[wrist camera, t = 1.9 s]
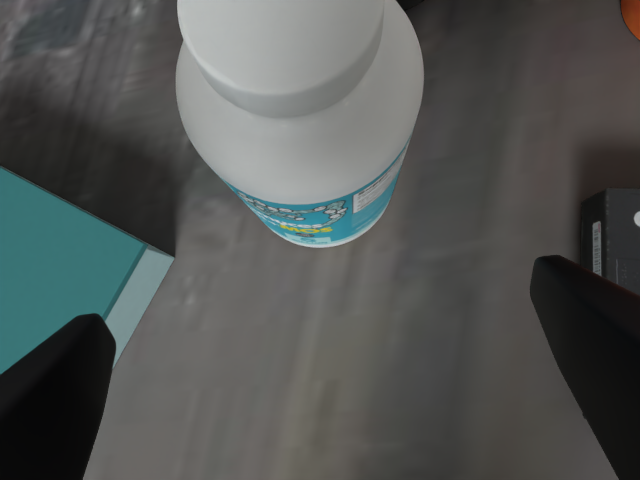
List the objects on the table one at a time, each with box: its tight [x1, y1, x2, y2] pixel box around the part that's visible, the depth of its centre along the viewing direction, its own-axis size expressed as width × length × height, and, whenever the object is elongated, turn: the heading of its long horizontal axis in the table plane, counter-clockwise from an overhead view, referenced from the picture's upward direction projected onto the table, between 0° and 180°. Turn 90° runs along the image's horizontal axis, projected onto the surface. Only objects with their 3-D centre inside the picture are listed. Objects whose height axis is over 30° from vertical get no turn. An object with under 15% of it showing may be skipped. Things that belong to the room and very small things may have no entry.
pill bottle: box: [176, 0, 424, 248], centre depth 16 cm, size 8×7×14 cm
